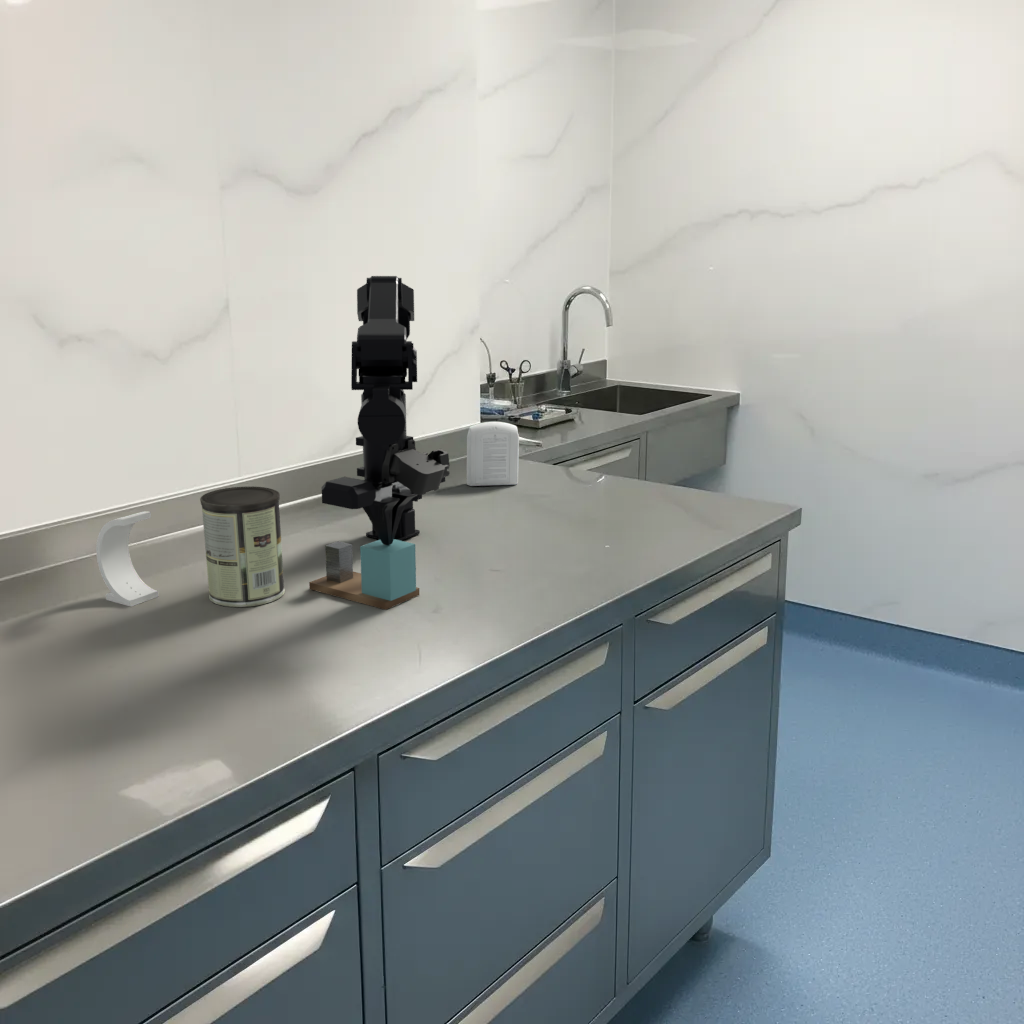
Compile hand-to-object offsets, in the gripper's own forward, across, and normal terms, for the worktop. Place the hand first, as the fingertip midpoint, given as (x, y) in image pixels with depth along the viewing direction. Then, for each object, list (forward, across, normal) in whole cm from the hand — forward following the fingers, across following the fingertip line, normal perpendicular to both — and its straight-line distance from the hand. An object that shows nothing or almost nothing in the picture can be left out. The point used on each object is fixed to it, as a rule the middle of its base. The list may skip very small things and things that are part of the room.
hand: (387, 544), depth 140 cm
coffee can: (+8, -10, +17) cm, 21 cm away
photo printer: (+8, +61, +26) cm, 67 cm away
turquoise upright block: (+7, 0, 0) cm, 7 cm away
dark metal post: (+8, 0, +9) cm, 12 cm away
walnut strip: (+8, 0, +4) cm, 9 cm away
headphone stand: (+8, -20, +29) cm, 36 cm away
